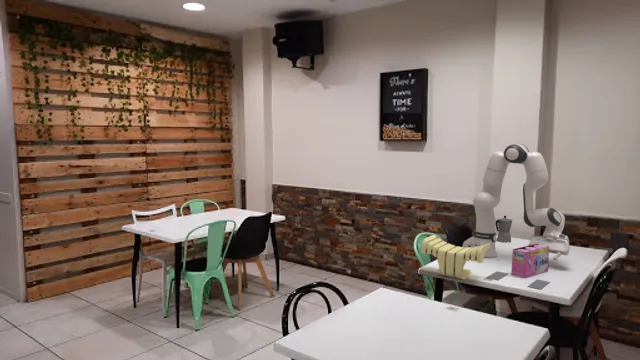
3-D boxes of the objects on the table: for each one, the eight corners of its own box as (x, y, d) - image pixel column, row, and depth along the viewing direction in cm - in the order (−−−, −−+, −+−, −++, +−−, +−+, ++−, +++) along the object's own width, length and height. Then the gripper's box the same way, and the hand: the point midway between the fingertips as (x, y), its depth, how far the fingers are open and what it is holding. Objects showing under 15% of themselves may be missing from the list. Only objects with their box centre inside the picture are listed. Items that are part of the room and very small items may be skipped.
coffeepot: (505, 239, 317) (506, 214, 315) (516, 241, 309) (517, 216, 307) (489, 240, 310) (490, 215, 309) (500, 243, 302) (501, 217, 300)
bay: (485, 277, 226) (485, 277, 226) (496, 271, 237) (496, 271, 237) (540, 289, 209) (540, 289, 209) (550, 282, 220) (550, 281, 220)
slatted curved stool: (421, 273, 233) (422, 239, 231) (432, 266, 246) (433, 234, 244) (479, 284, 216) (481, 248, 214) (488, 276, 228) (490, 242, 227)
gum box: (535, 267, 246) (537, 243, 245) (550, 270, 240) (551, 246, 239) (510, 274, 233) (512, 248, 232) (525, 278, 226) (526, 252, 225)
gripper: (530, 231, 255) (524, 251, 249) (570, 236, 241) (565, 258, 235) (532, 237, 259) (526, 257, 252) (572, 243, 245) (566, 264, 239)
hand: (545, 257), depth 244 cm, fingers open, 8 cm apart
